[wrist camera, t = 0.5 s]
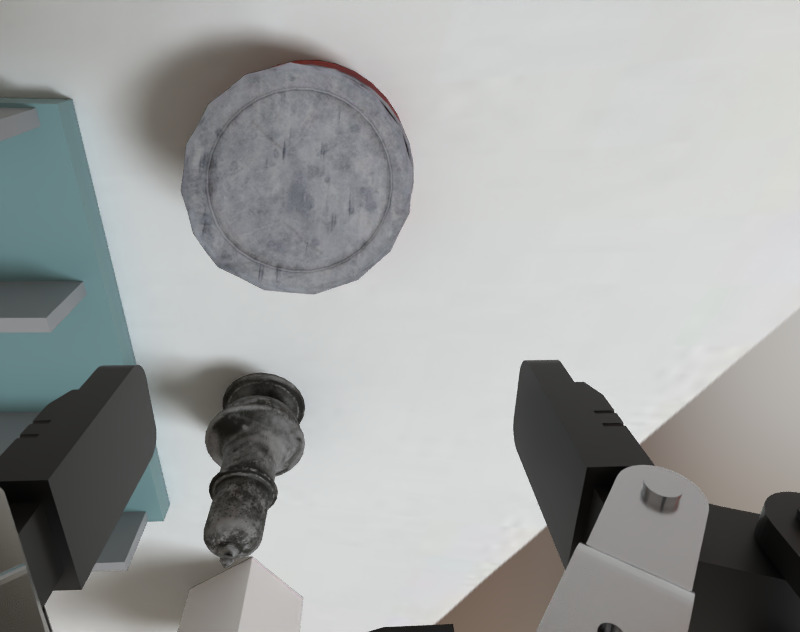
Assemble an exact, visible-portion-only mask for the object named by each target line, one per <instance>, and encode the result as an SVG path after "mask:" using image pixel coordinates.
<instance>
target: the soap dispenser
mask: <svg viewBox="0 0 800 632" xmlns="http://www.w3.org/2000/svg"><path fill="white" fill-rule="evenodd" d="M302 607H303V597H302V596H300V595H299V594H298V593H297V592H295V591H294V590H293V589H292V588H290V587H289V586H288V585H287V584H285V583H284V582H283V581H282V580H281V579H279V578H278V577H277V576H276V575H274V574H273V573H272V572H271V571H269V570H268V569H267V568H266V567H264V566H263V565H262V564H261V563H260V562H258V561H257V560H256V559H255V558H253V557H252V558H250V559H248V560H246V561H244V562H242V563H240V564H238V565H236V566H234V567H232V568H230V569H228V570H226V571H224V572H222V573H220V574H218V575H216V576H214V577H212V578H210V579H208V580H206V581H205V582H203V583H201V584H199V585H197V586H195V587H193V588H191V589H190V590H189V594H188V597H187V601H186V604H185V607H184V611H183V614H182V618H181V621H180V624H179V628H178V631H177V632H300V627H301V617H302Z"/></svg>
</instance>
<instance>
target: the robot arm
mask: <svg viewBox="0 0 800 632" xmlns="http://www.w3.org/2000/svg"><path fill="white" fill-rule="evenodd" d="M513 431H514V441H515V446H516V449H517V452H518V454H519V457H520V459H521V462H522V464H523V467H524V469H525V472H526V474H527V477H528V479H529V482H530V484H531V487H532V489H533V491H534V494H535V496H536V499H537V501H538V504H539V506H540V509H541V511H542V514H543V516H544V519H545V521H546V524H547V526H548V529H549V531H550V533H551V536H552V538H553V541H554V543H555V546H556V548H557V551H558V553H559V556H560V558H561V561H562V563H563V566H564V568H565V572H564V575H563V576H562V578H561V581H560V583H559V585H558V587H557V589H556V591H555V593H554V595H553V597H552V600H551V602H550V604H549V606H548V608H547V610H546V612H545V614H544V616H543V619H542V621H541V623H540V625H539V627H538V629H537V631H536V632H800V493H797V492H780V493H775V494H773V495H771V496H769V497H768V498H767V500H766V501H765V504H764V506H763V509H762V511H761V514H756V513H751V512H746V511H741V510H736V509H731V508H726V507H721V506H717V505H712V504H709V503H708V500H707V498H706V496H705V495H704V494H703V492H702V491H701V490H700V489H699V488H698V487H697V486H696V485H695V484H694V483H693V482H691V481H690V480H689V479H687V478H685V477H684V476H682V475H680V474H678V473H676V472H673V471H671V470H668V469H665V468H662V467H657V466H655V465H654V464H653V463H652V461H651V460H650V458H649V457H648V456H647V454H646V453H645V452H644V450H643V449H642V448H641V446H640V445H639V443H638V442H637V441H636V439H635V438H634V437H633V435H632V434H631V432H630V431H629V430H628V428H627V427H626V426H624V425H623V422H622V420H621V419H620V417H619V416H618V415H617V413H614V409H613V408H612V407H611V405H610V404H609V402H608V401H607V400H606V398H605V397H604V396H603V395H602V394H601V393H599V392H598V391H596V390H595V389H593V388H592V387H590V386H589V385H588V384H586V383H585V382H574V381H573V380H572V378H571V377H570V375H569V374H568V372H567V371H566V369H565V368H564V366H563V365H562V363H561V362H560V361H559V360H525V361H523V362H522V365H521V368H520V374H519V382H518V390H517V398H516V406H515V414H514V424H513ZM155 445H156V426H155V421H154V415H153V410H152V405H151V400H150V395H149V390H148V385H147V380H146V375H145V372H144V370H143V368H142V367H141V366H140V365H103V366H99V367H98V368H97V369H96V370H95V371H94V372H93V373H92V375H91V376H90V377H89V378H88V379H87V380H86V381H85V383H84V384H83V385H82V386H81V387H80V388H79V389H78V390H71V391H69V392H67V393H66V394H64V395H62V396H61V397H59V398H57V399H56V400H54V401H52V402H51V403H49V404H48V405H47V406H46V407H45V408H44V409H43V410H42V411H41V412H40V413H39V415H38V416H37V417H36V418H35V419H34V420H33V424H29V425H28V426H27V427H26V429H25V430H24V431H23V432H22V433H21V434H20V438H16V439H15V440H14V441H13V443H12V444H11V445H10V446H9V447H8V448H7V449H6V450H5V451H4V452H3V453H2V454H1V456H0V632H53V630H52V627H51V624H50V621H49V617H48V614H47V612H46V609H45V606H44V605H45V603H46V602H47V600H48V598H49V596H50V595H51V593H52V591H57V590H82V588H83V586H84V584H85V582H86V580H87V578H88V577H89V575H90V573H91V571H92V569H93V567H94V565H95V564H96V562H97V560H98V558H99V556H100V554H101V552H102V550H103V549H104V547H105V545H106V543H107V541H108V539H109V537H110V535H111V534H112V532H113V530H114V528H115V526H116V524H117V522H118V520H119V519H120V517H121V515H122V513H123V511H124V509H125V507H126V506H127V504H128V502H129V500H130V498H131V496H132V494H133V492H134V491H135V489H136V487H137V485H138V483H139V481H140V479H141V477H142V476H143V474H144V472H145V470H146V468H147V466H148V464H149V462H150V461H151V459H152V457H153V454H154V450H155ZM369 632H454V628H453V624H445V625H423V626H401V627H383V628H379V629H376V630H373V631H369Z"/></svg>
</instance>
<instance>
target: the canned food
mask: <svg viewBox="0 0 800 632" xmlns="http://www.w3.org/2000/svg"><path fill="white" fill-rule="evenodd" d="M412 188H413V159H412V154H411V149H410V144H409V141H408V139H407V136H406V134H405V132H404V129H403V127H402V124H401V122H400V120H399V117H398V115H397V113H396V111H395V110H394V108H393V107H392V105H391V104H390V102H389V101H388V99H387V98H386V97H385V96H384V95H383V94H382V93H381V92H380V91H379V90H378V89H377V88H376V87H375V86H374V85H373V84H372V83H371V82H370V81H368V80H367V79H365V78H364V77H362V76H361V75H359V74H358V73H356V72H355V71H352V70H350V69H348V68H345V67H343V66H340V65H338V64H335V63H330V62H324V61H319V60H296V61H292V62H288V63H284V64H280V65H276V66H274V67H272V68H270V69H266V70H262V71H258V72H254V73H250V74H246V75H244V76H243V77H242V78H240V79H239V80H238V81H237V82H236V83H235V84H233V85H232V86H231V87H230V88H229V89H228V90H226V91H225V92H224V93H222V94H221V95H220V96H218V97H217V98H216V99H214V100H213V101H212V102H211V103H209V104H208V106H207V108H206V110H205V112H204V114H203V116H202V118H201V120H200V122H199V124H198V126H197V127H196V129H195V131H194V132H193V134H192V136H191V138H190V139H189V141H188V143H187V144H186V151H185V162H184V172H183V179H182V186H181V193H182V196H183V199H184V202H185V205H186V208H187V211H188V215H189V219H190V223H191V227H192V231H193V234H194V235H195V237H196V238H197V240H198V241H199V242H200V244H201V245H202V247H203V248H204V250H205V251H206V252H207V254H208V255H209V256H210V258H211V259H212V260H213V261H214V263H215V264H216V265H217V267H219V268H221V269H223V270H225V271H227V272H229V273H231V274H233V275H236V276H238V277H240V278H242V279H244V280H246V281H248V282H249V283H251V284H253V285H255V286H257V287H259V288H261V289H263V290H269V291H280V292H291V293H304V294H317V293H320V292H323V291H326V290H329V289H332V288H335V287H338V286H341V285H344V284H347V283H350V282H353V281H356V280H358V279H359V278H360V277H362V276H363V275H364V274H365V273H366V272H367V271H368V270H369V269H370V268H372V267H373V266H374V265H375V264H376V263H377V262H378V261H380V260H381V259H382V258H383V257H384V256H385V255H387V254H388V253H389V252H390V251H391V249H392V247H393V245H394V243H395V241H396V238H397V236H398V234H399V232H400V230H401V228H402V226H403V224H404V223H405V221H406V219H407V217H408V215H409V212H410V198H411V193H412Z"/></svg>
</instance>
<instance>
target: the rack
mask: <svg viewBox="0 0 800 632" xmlns="http://www.w3.org/2000/svg"><path fill="white" fill-rule="evenodd" d="M103 365H136V361H135V357H134V353H133V349H132V345H131V341H130V337H129V332H128V328H127V324H126V320H125V316H124V312H123V308H122V303H121V299H120V295H119V291H118V287H117V283H116V279H115V274H114V270H113V266H112V262H111V258H110V254H109V249H108V245H107V241H106V237H105V233H104V229H103V225H102V220H101V216H100V212H99V208H98V204H97V200H96V196H95V191H94V187H93V183H92V179H91V175H90V171H89V167H88V162H87V158H86V154H85V150H84V146H83V142H82V137H81V133H80V129H79V125H78V121H77V117H76V113H75V108H74V104H73V100H72V99H37V98H0V456H1V454H2V453H3V452H4V451H5V450H6V449H7V448H8V447H9V446H10V445H11V444H12V443H13V441H14V440H15V439H16V438H20V434H21V433H22V432H23V431H24V430H25V429H26V427H27V426H28V425H29V424H33V420H34V419H35V418H36V417H37V416H38V415H39V413H40V412H41V411H42V410H43V409H44V408H45V407H46V406H47V405H48V404H49V403H51V402H52V401H54V400H56V399H57V398H59V397H61V396H62V395H64V394H66V393H67V392H69V391H71V390H78V389H79V388H80V387H81V386H82V385H83V384H84V383H85V381H86V380H87V379H88V378H89V377H90V376H91V375H92V373H93V372H94V371H95V370H96V369H97V368H98V367H99V366H103ZM169 506H170V502H169V498H168V494H167V490H166V486H165V482H164V478H163V473H162V469H161V465H160V461H159V457H158V453H157V449H156V445H155V450H154V454H153V457H152V459H151V461H150V462H149V464H148V466H147V468H146V470H145V472H144V474H143V476H142V477H141V479H140V481H139V483H138V485H137V487H136V489H135V491H134V492H133V494H132V496H131V498H130V500H129V502H128V504H127V506H126V507H125V509H124V511H123V513H122V515H121V517H120V519H119V520H118V522H117V524H116V526H115V528H114V530H113V532H112V534H111V535H110V537H109V539H108V541H107V543H106V545H105V547H104V549H103V550H102V552H101V554H100V556H99V558H98V560H97V562H96V564H95V565H94V567H93V569H92V571H91V572H94V571H124V570H128V567H129V565H130V562H131V560H132V558H133V555H134V553H135V550H136V548H137V546H138V543H139V541H140V538H141V536H142V534H143V531H144V529H145V526H146V524H147V522H151V521H164V519H165V516H166V513H167V511H168V508H169Z"/></svg>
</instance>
